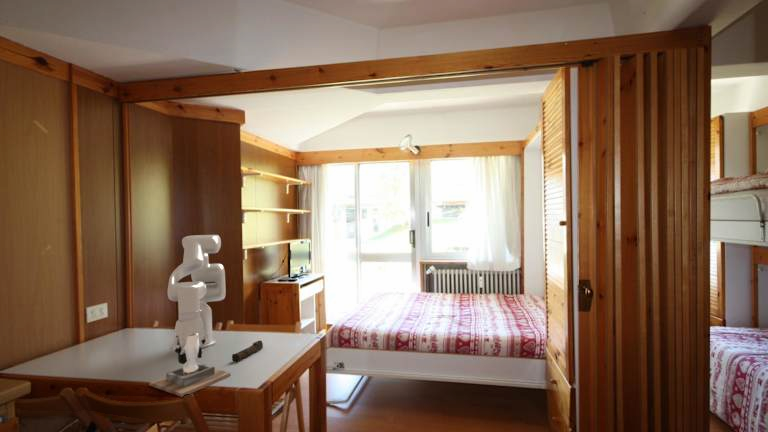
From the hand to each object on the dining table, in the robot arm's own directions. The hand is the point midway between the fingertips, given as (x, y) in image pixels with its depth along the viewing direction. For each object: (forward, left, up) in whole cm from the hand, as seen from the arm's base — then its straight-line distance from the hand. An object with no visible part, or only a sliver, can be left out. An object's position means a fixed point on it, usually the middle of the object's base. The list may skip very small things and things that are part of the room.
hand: (190, 359), depth 143 cm
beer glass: (0, 0, -5) cm, 5 cm away
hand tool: (-2, +30, -9) cm, 31 cm away
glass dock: (0, 0, -8) cm, 8 cm away
